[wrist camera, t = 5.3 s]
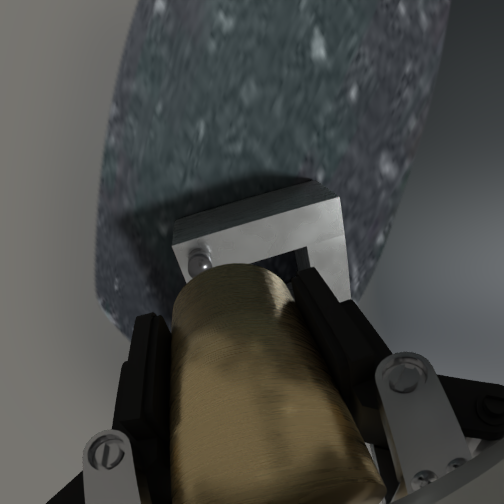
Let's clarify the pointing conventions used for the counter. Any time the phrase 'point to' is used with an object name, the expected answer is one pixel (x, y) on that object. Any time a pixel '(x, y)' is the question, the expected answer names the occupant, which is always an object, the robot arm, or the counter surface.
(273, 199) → the jig
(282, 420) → the brass cylinder
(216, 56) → the counter surface
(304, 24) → the counter surface
